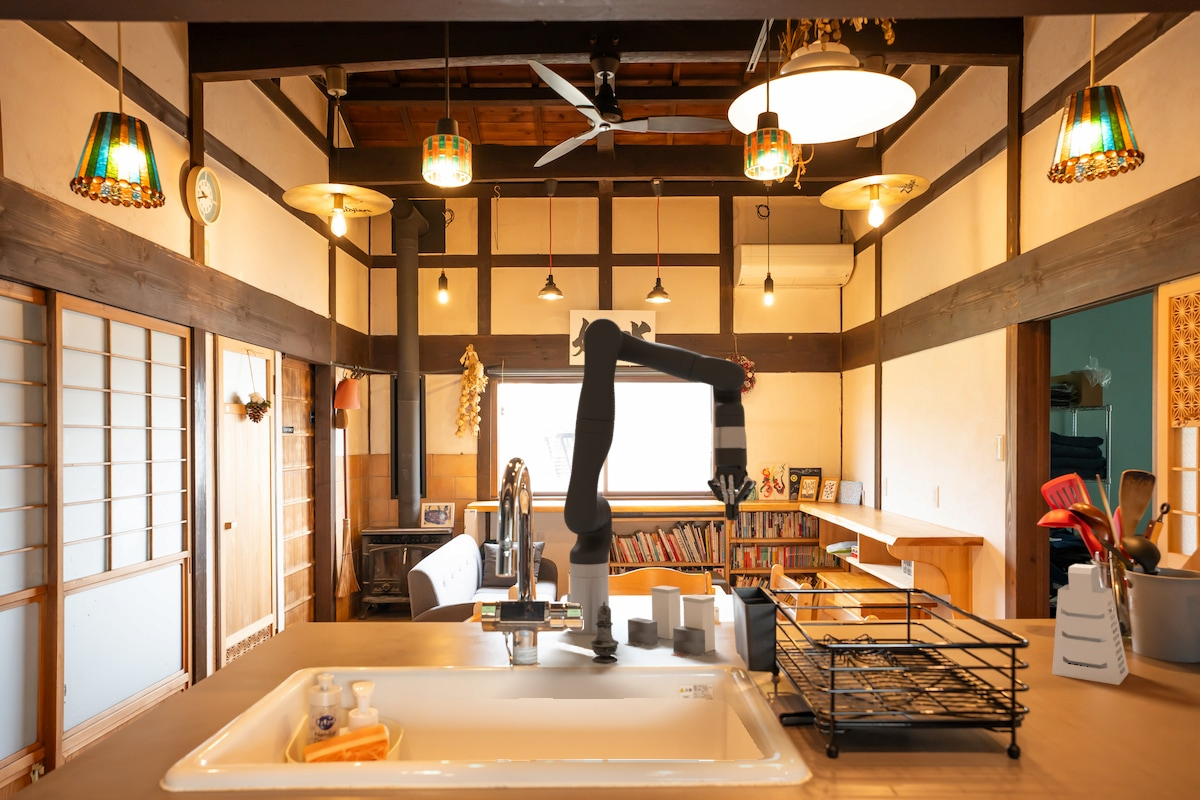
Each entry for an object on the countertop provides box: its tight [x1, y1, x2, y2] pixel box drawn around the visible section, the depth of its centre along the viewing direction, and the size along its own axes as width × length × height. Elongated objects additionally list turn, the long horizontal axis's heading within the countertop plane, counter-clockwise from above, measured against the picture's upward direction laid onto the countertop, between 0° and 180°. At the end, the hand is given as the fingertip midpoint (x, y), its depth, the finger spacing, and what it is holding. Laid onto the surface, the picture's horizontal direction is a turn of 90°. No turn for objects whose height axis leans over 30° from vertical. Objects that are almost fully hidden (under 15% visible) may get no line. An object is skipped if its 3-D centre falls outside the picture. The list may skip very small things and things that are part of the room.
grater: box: [1051, 563, 1130, 686], centre depth 141 cm, size 10×10×20 cm
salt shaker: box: [590, 601, 620, 665], centre depth 154 cm, size 6×6×12 cm
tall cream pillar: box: [650, 585, 682, 640], centre depth 170 cm, size 5×4×11 cm
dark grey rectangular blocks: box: [624, 617, 706, 658], centre depth 163 cm, size 25×20×6 cm
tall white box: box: [682, 593, 716, 653], centre depth 157 cm, size 5×4×11 cm
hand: (732, 520), depth 175 cm, fingers closed
